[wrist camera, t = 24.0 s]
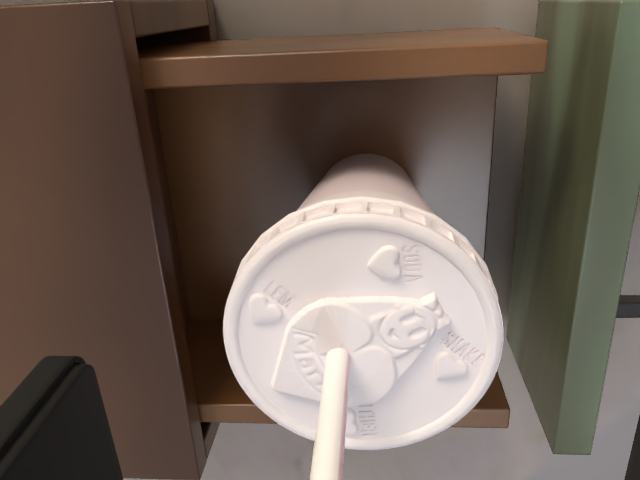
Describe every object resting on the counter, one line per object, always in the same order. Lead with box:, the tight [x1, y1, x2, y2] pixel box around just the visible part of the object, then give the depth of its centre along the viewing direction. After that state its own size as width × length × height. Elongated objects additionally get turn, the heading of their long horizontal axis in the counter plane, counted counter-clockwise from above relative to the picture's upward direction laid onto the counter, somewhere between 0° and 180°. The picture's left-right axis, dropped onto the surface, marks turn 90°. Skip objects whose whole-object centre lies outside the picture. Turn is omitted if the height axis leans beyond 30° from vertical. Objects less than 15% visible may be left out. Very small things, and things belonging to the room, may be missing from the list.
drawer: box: [137, 0, 640, 455], centre depth 19 cm, size 20×14×7 cm, turn 93°
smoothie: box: [223, 153, 504, 480], centre depth 15 cm, size 6×6×14 cm
